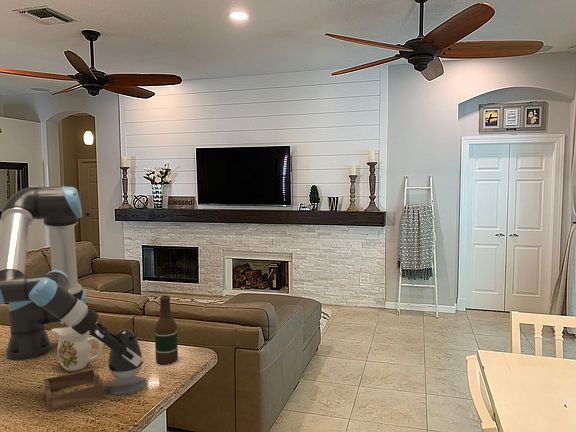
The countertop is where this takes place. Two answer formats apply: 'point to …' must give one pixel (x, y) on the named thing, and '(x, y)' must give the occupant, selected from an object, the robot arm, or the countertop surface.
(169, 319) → the beer bottle
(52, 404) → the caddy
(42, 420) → the countertop surface
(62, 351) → the pitcher
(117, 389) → the coaster
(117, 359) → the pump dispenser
